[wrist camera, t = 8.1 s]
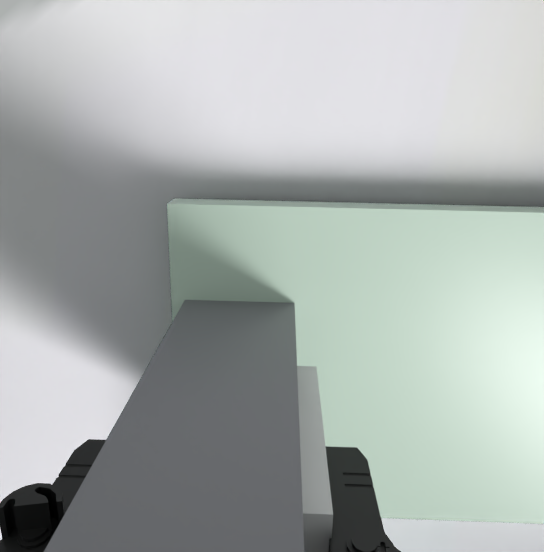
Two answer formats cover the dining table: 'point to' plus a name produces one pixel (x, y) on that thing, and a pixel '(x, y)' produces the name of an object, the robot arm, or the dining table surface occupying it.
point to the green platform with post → (328, 374)
